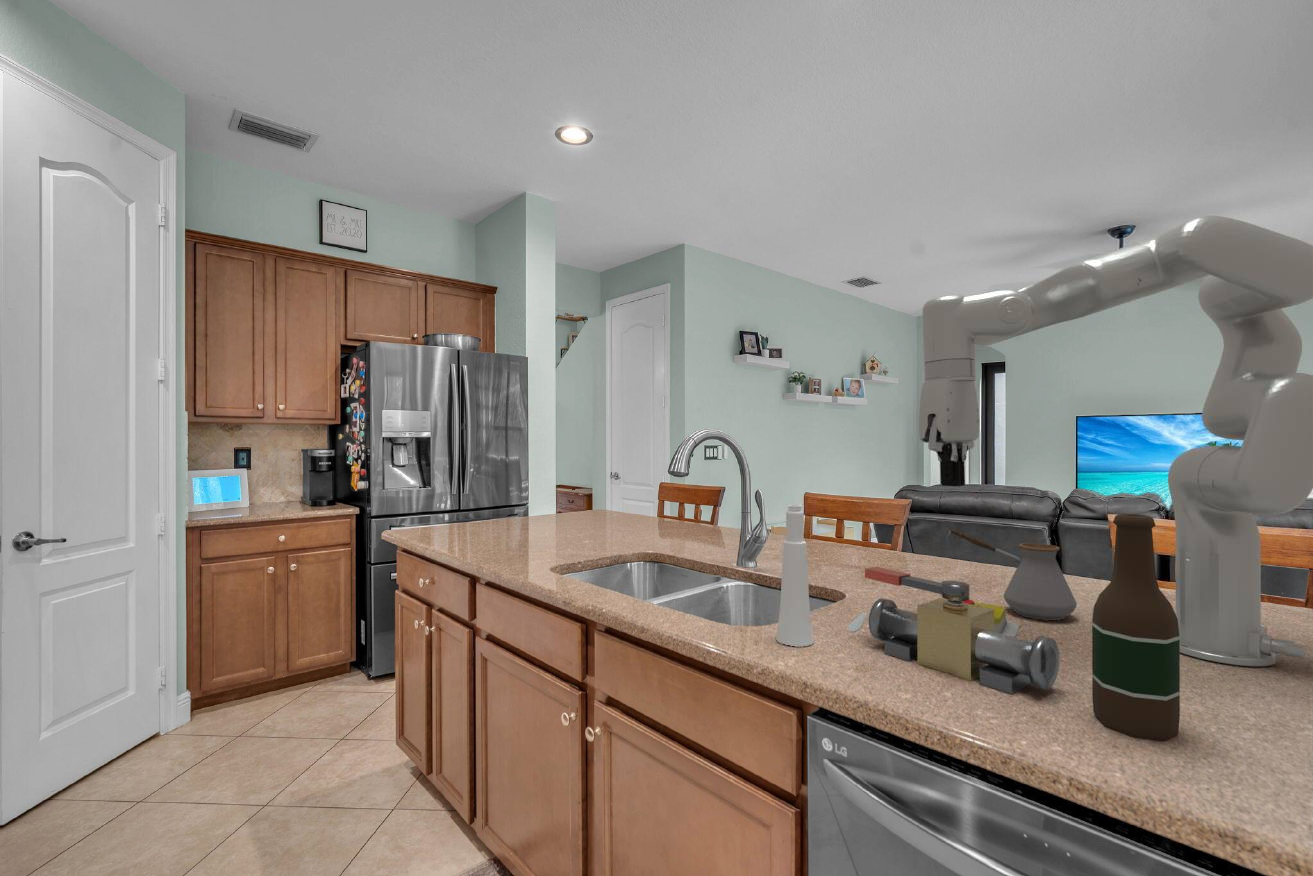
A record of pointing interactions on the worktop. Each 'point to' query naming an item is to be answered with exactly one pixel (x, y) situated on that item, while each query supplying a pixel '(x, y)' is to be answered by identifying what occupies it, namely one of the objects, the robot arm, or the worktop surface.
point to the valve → (964, 644)
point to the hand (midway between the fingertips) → (952, 485)
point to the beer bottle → (1135, 641)
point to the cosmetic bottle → (794, 585)
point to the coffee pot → (1035, 581)
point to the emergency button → (999, 620)
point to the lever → (920, 583)
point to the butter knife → (857, 622)
